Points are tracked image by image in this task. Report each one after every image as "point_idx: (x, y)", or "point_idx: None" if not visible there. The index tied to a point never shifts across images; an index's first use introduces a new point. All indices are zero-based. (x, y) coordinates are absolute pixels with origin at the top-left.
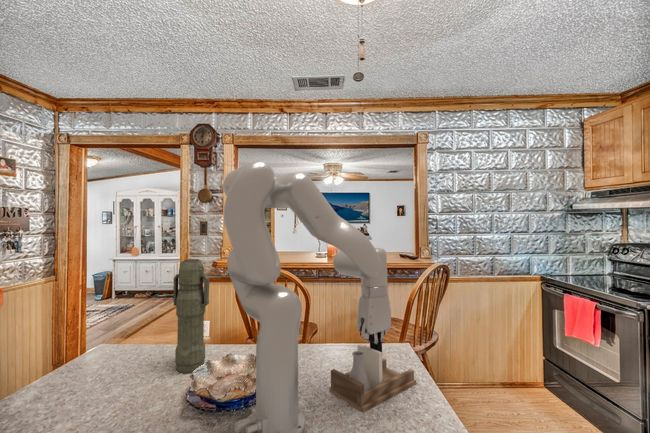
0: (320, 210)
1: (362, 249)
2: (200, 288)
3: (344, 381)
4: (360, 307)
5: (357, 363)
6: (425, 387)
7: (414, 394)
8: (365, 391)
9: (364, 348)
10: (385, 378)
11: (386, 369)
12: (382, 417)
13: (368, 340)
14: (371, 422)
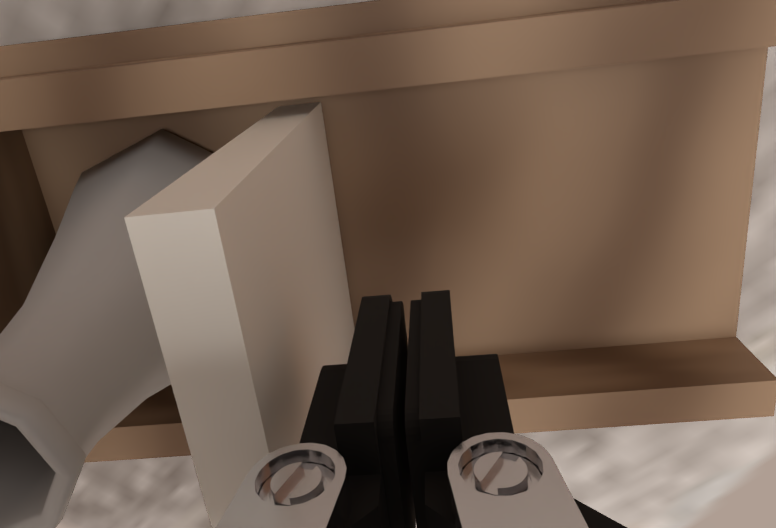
0: None
1: None
2: None
3: None
4: None
5: (6, 433)
6: (716, 438)
7: (559, 453)
8: (116, 435)
9: (182, 389)
10: (544, 219)
11: (722, 76)
12: (183, 503)
13: (251, 482)
14: (97, 501)
